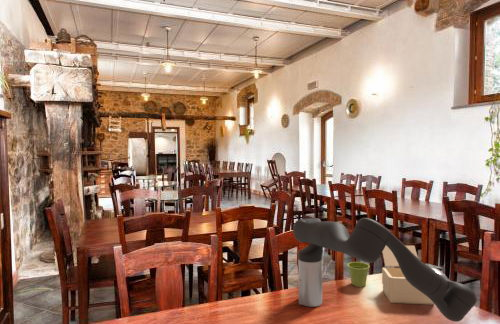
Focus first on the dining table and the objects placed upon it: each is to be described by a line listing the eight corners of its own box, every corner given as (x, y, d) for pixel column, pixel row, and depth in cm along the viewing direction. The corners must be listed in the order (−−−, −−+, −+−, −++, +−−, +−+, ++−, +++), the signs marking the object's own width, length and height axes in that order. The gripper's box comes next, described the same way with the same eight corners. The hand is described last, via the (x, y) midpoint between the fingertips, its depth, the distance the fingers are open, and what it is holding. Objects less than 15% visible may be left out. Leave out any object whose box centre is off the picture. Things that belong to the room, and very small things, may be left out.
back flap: (385, 265, 146) (381, 245, 153) (385, 266, 146) (380, 245, 154) (420, 266, 144) (414, 245, 151) (420, 267, 145) (414, 246, 152)
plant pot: (371, 289, 149) (371, 269, 148) (348, 287, 150) (348, 268, 150) (368, 281, 158) (368, 262, 157) (346, 280, 160) (346, 261, 159)
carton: (389, 303, 135) (389, 278, 134) (381, 290, 147) (381, 267, 147) (435, 305, 133) (435, 279, 132) (423, 292, 145) (423, 268, 144)
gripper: (412, 290, 115) (396, 271, 132) (454, 292, 113) (433, 273, 130) (412, 267, 114) (397, 252, 132) (455, 269, 113) (433, 253, 130)
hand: (415, 262), depth 131 cm, fingers closed
